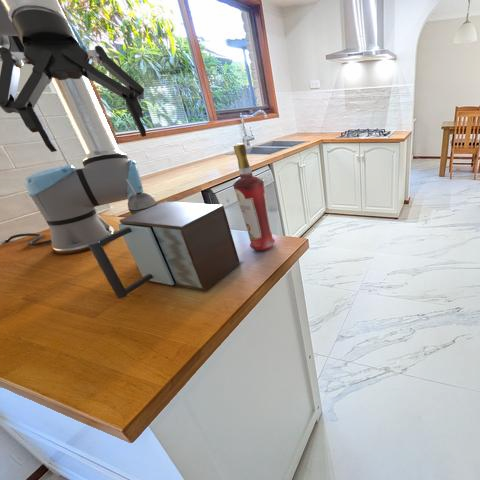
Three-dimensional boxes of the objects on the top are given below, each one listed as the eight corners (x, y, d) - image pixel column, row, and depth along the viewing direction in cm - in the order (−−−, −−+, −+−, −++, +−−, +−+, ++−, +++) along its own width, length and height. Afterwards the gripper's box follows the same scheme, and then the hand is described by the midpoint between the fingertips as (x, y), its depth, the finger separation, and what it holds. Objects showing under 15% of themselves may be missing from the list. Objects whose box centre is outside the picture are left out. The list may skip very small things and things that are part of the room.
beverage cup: (175, 238, 91) (151, 175, 81) (151, 248, 85) (122, 182, 76) (163, 234, 94) (138, 173, 85) (139, 243, 89) (110, 180, 80)
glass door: (110, 300, 63) (76, 242, 56) (146, 278, 70) (120, 224, 63) (140, 307, 60) (108, 247, 53) (174, 283, 67) (150, 227, 60)
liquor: (244, 249, 81) (216, 146, 68) (265, 238, 86) (243, 141, 73) (260, 256, 77) (234, 148, 64) (281, 244, 82) (261, 142, 69)
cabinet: (147, 280, 70) (119, 220, 63) (186, 255, 80) (166, 200, 73) (205, 291, 65) (181, 226, 57) (240, 263, 75) (223, 205, 67)
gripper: (-88, 1, 40) (-8, 146, 42) (123, 9, 53) (175, 119, 56) (-53, 40, 46) (15, 164, 49) (127, 38, 60) (174, 136, 62)
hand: (101, 140), depth 52 cm, fingers open, 13 cm apart
